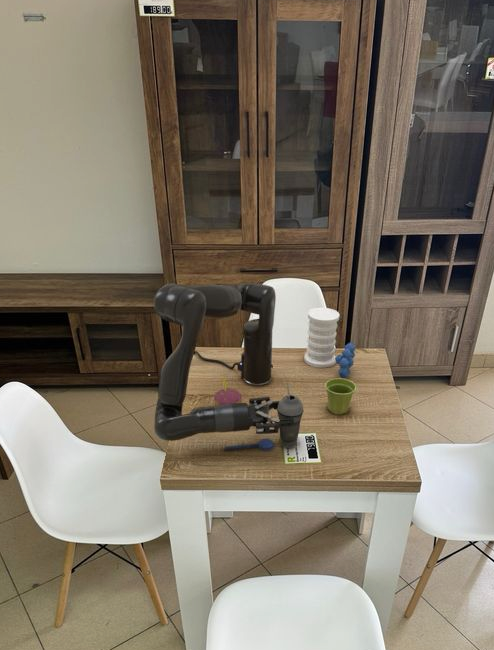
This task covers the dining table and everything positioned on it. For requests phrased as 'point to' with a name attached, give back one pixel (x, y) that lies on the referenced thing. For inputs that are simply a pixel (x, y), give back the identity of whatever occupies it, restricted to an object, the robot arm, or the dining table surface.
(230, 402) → the cupcake
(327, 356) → the decorative container
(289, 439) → the beverage cup
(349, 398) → the plant pot
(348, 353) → the grapes
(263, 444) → the spoon
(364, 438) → the dining table surface
